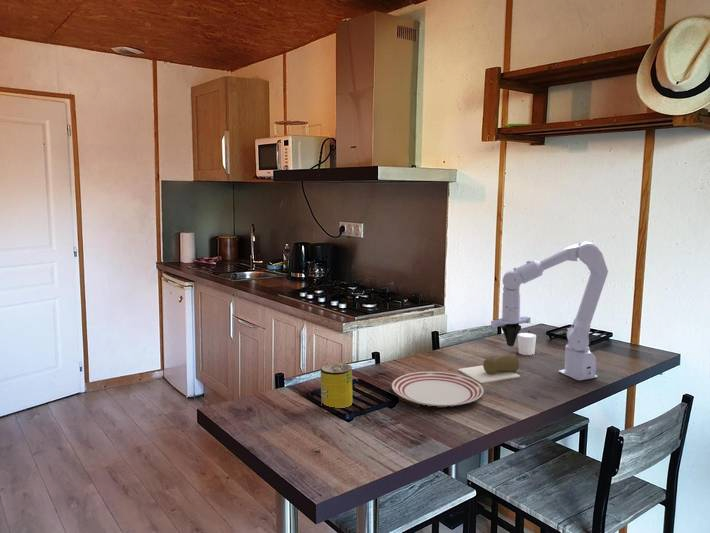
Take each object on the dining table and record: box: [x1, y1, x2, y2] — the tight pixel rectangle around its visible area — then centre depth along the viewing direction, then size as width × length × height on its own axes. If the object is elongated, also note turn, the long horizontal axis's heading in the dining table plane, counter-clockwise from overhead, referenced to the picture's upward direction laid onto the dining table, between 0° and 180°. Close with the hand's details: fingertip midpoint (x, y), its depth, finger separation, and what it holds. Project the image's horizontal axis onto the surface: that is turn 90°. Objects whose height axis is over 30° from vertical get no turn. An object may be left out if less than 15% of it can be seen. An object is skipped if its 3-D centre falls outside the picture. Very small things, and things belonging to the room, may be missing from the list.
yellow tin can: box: [320, 362, 354, 408], centre depth 158 cm, size 9×9×12 cm
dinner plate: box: [391, 371, 484, 408], centre depth 166 cm, size 27×27×3 cm
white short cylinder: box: [517, 332, 537, 356], centre depth 206 cm, size 7×7×7 cm
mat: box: [457, 365, 521, 385], centre depth 184 cm, size 14×15×1 cm
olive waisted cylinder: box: [483, 353, 520, 374], centre depth 184 cm, size 6×6×11 cm
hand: (510, 345), depth 187 cm, fingers closed
